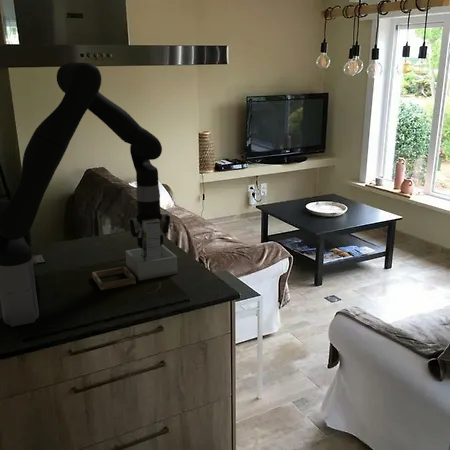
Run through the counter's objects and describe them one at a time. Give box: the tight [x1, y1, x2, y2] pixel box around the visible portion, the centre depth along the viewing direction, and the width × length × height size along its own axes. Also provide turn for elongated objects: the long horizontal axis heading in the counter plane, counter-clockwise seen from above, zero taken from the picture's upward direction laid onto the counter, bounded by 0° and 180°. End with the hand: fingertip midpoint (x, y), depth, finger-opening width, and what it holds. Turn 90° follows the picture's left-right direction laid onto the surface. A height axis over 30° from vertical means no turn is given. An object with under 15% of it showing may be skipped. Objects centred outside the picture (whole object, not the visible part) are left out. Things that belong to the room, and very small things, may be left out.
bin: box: [125, 244, 179, 281], centre depth 177 cm, size 14×14×6 cm
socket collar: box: [91, 265, 137, 291], centre depth 169 cm, size 11×11×2 cm
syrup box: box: [141, 219, 161, 261], centre depth 175 cm, size 6×6×14 cm
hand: (150, 246), depth 175 cm, fingers closed on syrup box, 6 cm apart
